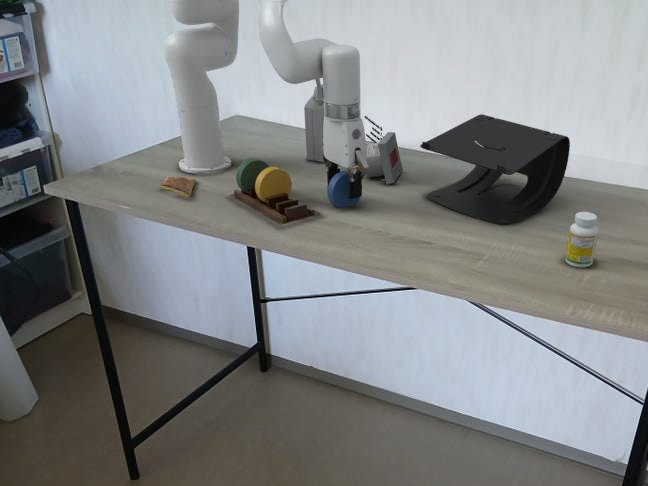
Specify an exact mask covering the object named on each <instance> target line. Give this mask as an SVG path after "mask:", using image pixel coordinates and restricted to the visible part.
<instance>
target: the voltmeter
mask: <svg viewBox="0 0 648 486" xmlns="http://www.w3.org/2000/svg"><path fill="white" fill-rule="evenodd" d="M364 119H366V120H367V121H368V122H369V123H371V124H372V125H373V126H372V127H371V130H372V131H374V132H375V133H376V134H377V135H379V136H380V137H379V136H377V135H376V134H375V133H374V132H372V131H370V135H371V136H373V137H374V138H375V139H376V140H378V141H376V140H374V138H372V137H371V136H370V135H368V134H367V133H365V137H366V138H368V139H370V141H371V142H372V143H366V155H367V164H368V166H369V169H368V170H367V172H366V174H365V175H366V176H367V177H368V178H374V177H375V178H377V177H381V176H382V177H383V176H384V179H380V181H381V182H385V185H387V186H388V185H390V184H393V183H395V182H396V180H397V179H398V178H399V176H400V175H401V173H402V172H403V166H402V160H401V156H400V150H399V145H398V141H397V135H396V132H395V131H394V132H393V131H388V132H386V134H385V135H383V133H382V132H383V128H382V126H379V124H377V123H375V121H373V120H372V119H370V118H369V117H368V116H367V115H364ZM374 126H375V127H376V128H377V129H379V130H380V131H381V132H380V131H379V130H377V129H376V128H374Z"/></svg>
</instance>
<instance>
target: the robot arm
mask: <svg viewBox="0 0 648 486" xmlns="http://www.w3.org/2000/svg"><path fill="white" fill-rule="evenodd" d="M258 2H259V11H258V18H257V19H258V21H257V22H258V33H259V39H260V43H261V46H262V48H263V51H264V53H265V54H266V56H267V58H268V60H269V62H270V64H271V65H272V68H273V69H274V71H275V72H276V74H277V75H278V76H279V77H280V78H281V79H282V80H283V81H284V82H285V83H288V84H290V85H298V84H304V83H306V82H310V81H314V80H316V79H319V78H320V79H322V84H323V93H324V125H323V145H322V146H321V147H320V151H321V153H322V155H323V160H324V164H325V166H324V167H325V170H326V180H327V186H328V185H329V183H330V181H331V179H332V178H333V177H334V175H336V174H337V173H339V172H341V168H339V167H342V168H344V169H346V171H348V174H349V178H350V181H348V197H349V199H354V198H358V197H360V198H362V196H363V180H364V177H365V176H366V175H367V174H366V172H367V170H368V169H369V166H368V164H367V155H366V144H367V142H366V141H367V139H366V132H365V131H366V130H365V126H364V125H365V124H364V121H363V119H362V118H361V117H362V116H361V114H362V113H361V56H360V55H361V54H360V52H359V50H358V48H357V47H356V46H353V45H351V44H338V43H335V42H334V41H331V40H329V39H327V38H322V37H321V38H320V37H319V38H313V39H307V40H302V41H297V42H294V41H293V39H292V37H291V36H290V34H289V32H288V29H287V28H286V25H285V21H284V7H285V3H286V2H288V0H258ZM170 9H171V12H172V15H173V18H174V20H176V22H178V23H180V24H181V25H185V26H196V27H190V28H184V29H179V30H176V31H173V32H172V33H171V34H169V35H168V37H167V38H166V39H165V40H164V45H163V53H164V59H165V61H166V64H167V67H168V70H169V73H170V76H171V81H172V86H173V91H174V98H175V103H176V110H177V115H178V123H179V130H180V137H181V143H182V144H181V145H182V150H183V157H184V158H182V159H181V160H179V162H178V167H179V170H181V171H182V172H183V173H186V174H187V173H188V174H193V175H201V174H203V173H208V172H209V173H211V172H217V171H220V170H225V169H228V168H230V167H232V159H231V158H229V157H228V156H226V155H225V152H224V145H223V143H224V142H223V135H222V127H221V126H222V125H221V120H220V119H221V118H220V110H219V102H218V94H217V90H216V87H215V86H214V83H213V82H212V80H211V79H210V78H209V76H208V73H207V72H210V71H211V72H212V71H215V70H219V69H223V68H227V67H229V66H231V65H232V64H233V63H234V62H235V60H236V58H237V54H238V50H239V49H238V48H239V29H240V27H239V25H240V1H239V0H170ZM205 24H206V25H205ZM197 25H204V26H198V27H197ZM353 164H354V165H353ZM353 170H356V171H355V173H354V171H353Z"/></svg>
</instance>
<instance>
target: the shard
mask: <svg viewBox="0 0 648 486" xmlns="http://www.w3.org/2000/svg"><path fill="white" fill-rule="evenodd" d="M195 184H196V179H195V178H192V177H187V176H168V177H166V178H165V180H164V181H163V182H162V183H161V184H159V188H160V189H163V190H167V191H170V192H172V193H175V194H179V195H181V196H185V197H191V198H192V191H193V189H194V185H195Z"/></svg>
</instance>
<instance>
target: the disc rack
mask: <svg viewBox="0 0 648 486" xmlns="http://www.w3.org/2000/svg"><path fill="white" fill-rule="evenodd" d="M248 191H249V194H247V193H245V192H244V191H242V190H241V189H234V190H233V193H231V194H229V196H230V197H232V198H233V199H235V200H237V201H239V202H240V203H242V204H243V205H245V206H247V207H249V208H251V209H252V210H254V211H256V212H257V213H259V214H261V215H262V216H264V217H266V218H267V219H269V220H271V221H273V222H274V223H275V224H278V225H279V226H281V225H285V224H290V223H293V222H297V221H299V220H304V219H307V218H310V217H314V216H315V217H316V216H319V215H321V213H320V212H318V211H316V209H314V208H313V207H311V206H309V205H308V204H307V203H306V202H301V201H300V200H299V199H298V198H296V197H295V198H294V197H292V196H291V195H289V196H288V194H287V193H283V194H279V195H275V196H271V197H267V198H266V203H265V202H263V201H262V200H260V199H259V197H258V196H257V194H256V191H255V186H254V187H250V188H248Z"/></svg>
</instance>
